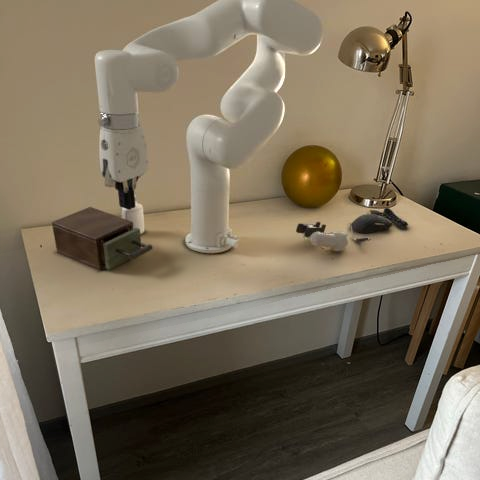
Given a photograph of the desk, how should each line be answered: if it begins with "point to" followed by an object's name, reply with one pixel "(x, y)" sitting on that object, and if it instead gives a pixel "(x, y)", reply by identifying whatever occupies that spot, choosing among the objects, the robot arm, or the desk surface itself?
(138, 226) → the eye dropper bottle
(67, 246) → the cabinet
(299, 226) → the clip-on lamp
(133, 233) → the drawer
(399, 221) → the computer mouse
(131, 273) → the desk surface
